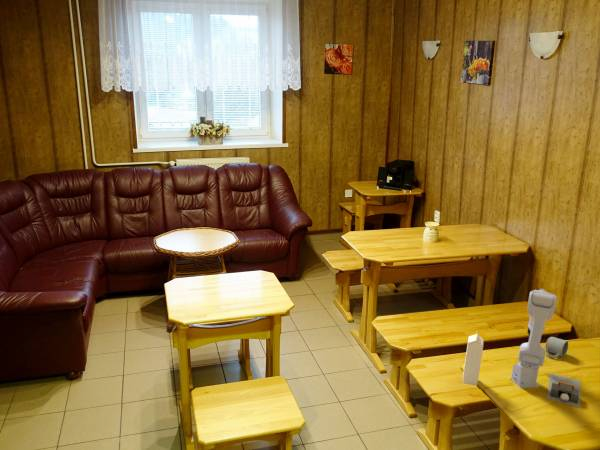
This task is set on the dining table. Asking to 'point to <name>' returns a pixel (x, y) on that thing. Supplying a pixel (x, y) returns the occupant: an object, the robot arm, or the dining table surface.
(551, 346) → the ceramic mug
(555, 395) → the hitch block
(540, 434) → the dining table surface
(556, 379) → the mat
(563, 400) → the pin
